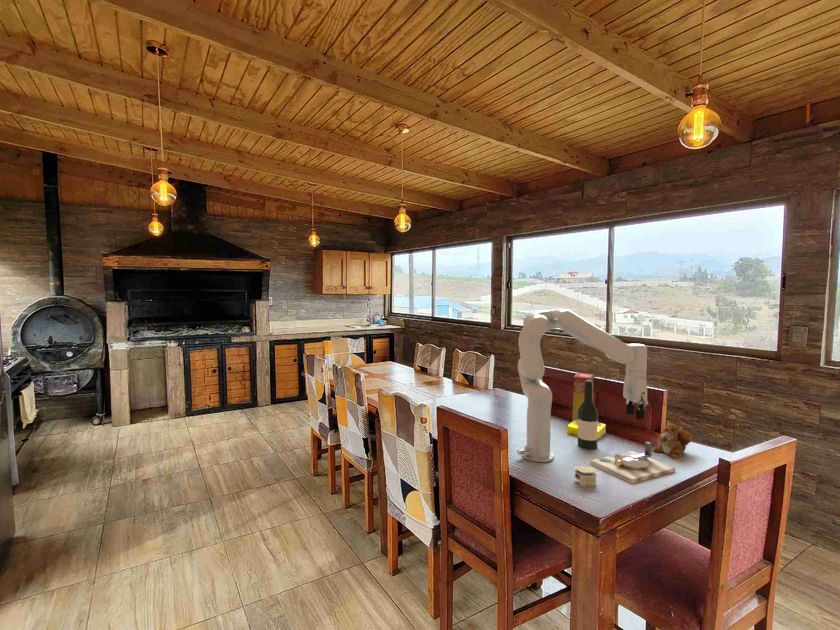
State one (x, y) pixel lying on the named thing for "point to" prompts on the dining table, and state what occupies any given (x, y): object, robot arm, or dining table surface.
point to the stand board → (632, 474)
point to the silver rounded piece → (635, 458)
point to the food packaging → (579, 392)
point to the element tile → (573, 429)
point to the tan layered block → (585, 475)
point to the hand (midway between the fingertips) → (635, 416)
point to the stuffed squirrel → (673, 440)
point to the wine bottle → (588, 420)
